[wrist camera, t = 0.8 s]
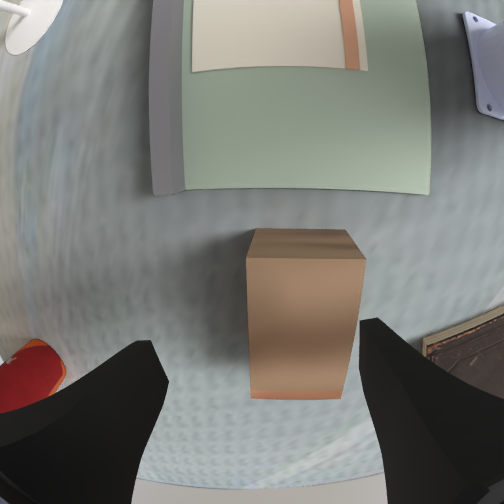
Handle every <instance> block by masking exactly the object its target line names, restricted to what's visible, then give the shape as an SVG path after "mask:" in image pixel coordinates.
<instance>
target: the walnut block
mask: <svg viewBox="0 0 504 504" xmlns="http://www.w3.org/2000/svg"><path fill="white" fill-rule="evenodd" d="M365 265H366V258H365V257H364V255H363V254H362V253H361V251H360V250H359V248H358V247H357V245H356V244H355V243H354V241H353V240H352V238H351V237H350V236H349V234H348V233H347V231H346V230H335V229H271V228H256V230H255V233H254V236H253V239H252V242H251V244H250V247H249V250H248V253H247V256H246V276H247V306H248V334H249V361H250V388H251V398H253V399H277V400H324V399H341V395H342V391H343V387H344V383H345V379H346V374H347V370H348V365H349V361H350V356H351V351H352V346H353V341H354V336H355V331H356V325H357V319H358V314H359V307H360V301H361V294H362V288H363V280H364V273H365Z"/></svg>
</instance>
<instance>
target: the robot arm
mask: <svg viewBox="0 0 504 504" xmlns="http://www.w3.org/2000/svg"><path fill="white" fill-rule="evenodd" d="M462 15H463V20H464V24H465V28H466V33H467V38H468V43H469V48H470V54H471V60H472V66H473V74H474V82H475V92H476V105H477V108H478V110H479V111H480V112H481V113H483V114H486V115H489V116H492V117H495V118H498V119H501V120H504V22H502V23H500V24H498V25H496V24H494V23H492V22H490V21H488V20H486V19H484V18H481V17H479V16H477V15H475V14H472V13H470V12H467V11H466V12H464V13H463V14H462ZM473 19H474V20H475V21H474V20H473ZM487 105H488V107H489V111H488V109H487ZM359 371H360V376H361V381H362V386H363V392H364V395H365V399H366V402H367V405H368V408H369V411H370V415H371V418H372V421H373V424H374V428H375V431H376V434H377V438H378V441H379V445H380V449H381V453H382V458H383V465H384V472H385V480H386V488H387V500H388V504H504V399H503V398H500V397H497V396H494V395H492V394H490V393H487V392H485V391H483V390H481V389H478V388H476V387H474V386H472V385H470V384H468V383H466V382H464V381H462V380H461V379H459V378H457V377H455V376H454V375H452V374H450V373H448V372H447V371H445V370H444V369H442V368H440V367H439V366H437V365H436V364H435V363H433V362H432V361H430V360H429V359H427V358H426V357H425V356H423V355H422V354H421V353H419V352H418V351H417V350H416V349H414V348H413V347H412V346H411V345H409V344H408V343H407V342H406V341H404V340H403V339H402V338H401V337H400V336H399V335H397V334H396V333H395V332H394V331H393V330H392V329H390V328H389V327H388V326H387V325H386V324H385V323H384V322H382V321H381V320H380V319H379V318H372V319H366V320H361V321H360V345H359ZM168 384H169V380H168V378H167V376H166V374H165V372H164V370H163V367H162V365H161V363H160V361H159V358H158V356H157V354H156V352H155V349H154V347H153V345H152V342H151V340H142V341H135V342H134V343H132V344H130V345H128V346H127V347H125V348H124V349H122V350H121V351H119V352H118V353H117V354H115V355H114V356H112V357H111V358H109V359H108V360H107V361H105V362H104V363H102V364H101V365H100V366H98V367H97V368H95V369H94V370H92V371H91V372H89V373H88V374H86V375H85V376H83V377H82V378H80V379H79V380H77V381H76V382H74V383H72V384H71V385H69V386H67V387H66V388H64V389H62V390H60V391H58V392H57V393H55V394H53V395H51V396H49V397H47V398H44V399H42V400H40V401H37V402H35V403H32V404H30V405H27V406H25V407H22V408H19V409H15V410H12V411H8V412H5V413H0V504H131V501H132V495H133V490H134V485H135V480H136V476H137V472H138V468H139V465H140V461H141V458H142V455H143V452H144V449H145V447H146V445H147V442H148V440H149V437H150V435H151V433H152V430H153V428H154V426H155V423H156V421H157V419H158V416H159V414H160V411H161V409H162V406H163V404H164V400H165V396H166V393H167V388H168Z"/></svg>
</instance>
